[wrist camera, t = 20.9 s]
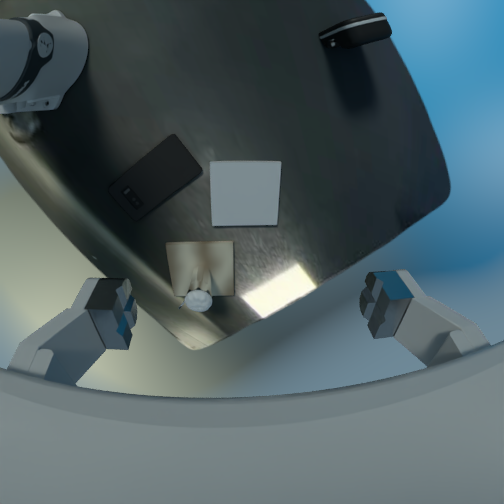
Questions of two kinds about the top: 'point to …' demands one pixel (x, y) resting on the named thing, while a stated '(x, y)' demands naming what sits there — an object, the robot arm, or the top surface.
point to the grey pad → (244, 192)
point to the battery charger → (357, 31)
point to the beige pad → (201, 253)
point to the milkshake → (199, 290)
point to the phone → (155, 177)
